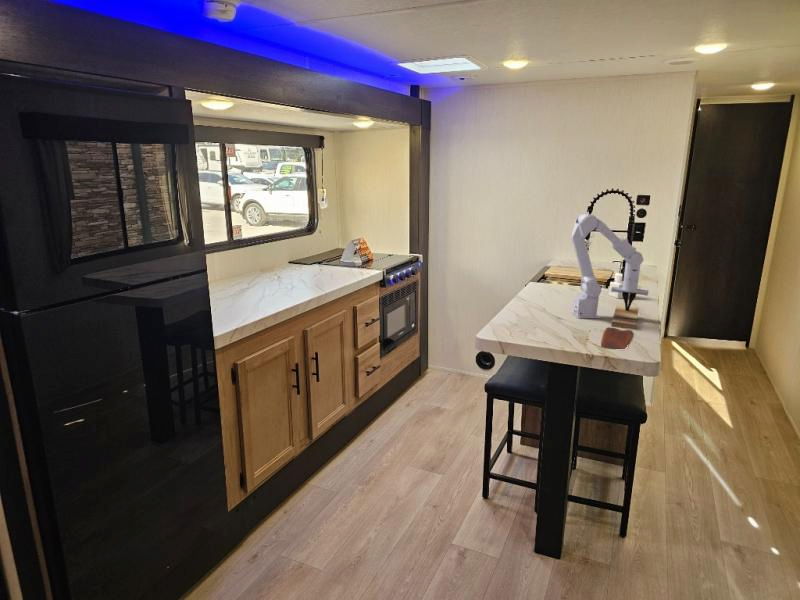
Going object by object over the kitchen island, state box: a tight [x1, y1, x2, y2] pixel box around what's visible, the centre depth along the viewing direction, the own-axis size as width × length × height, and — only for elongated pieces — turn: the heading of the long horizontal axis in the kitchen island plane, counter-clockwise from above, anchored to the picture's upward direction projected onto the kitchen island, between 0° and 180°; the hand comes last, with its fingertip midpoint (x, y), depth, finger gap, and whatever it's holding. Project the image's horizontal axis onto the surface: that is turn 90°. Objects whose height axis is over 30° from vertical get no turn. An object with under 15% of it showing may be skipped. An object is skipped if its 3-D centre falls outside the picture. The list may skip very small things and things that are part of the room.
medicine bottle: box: [608, 272, 630, 299], centre depth 261 cm, size 7×7×12 cm
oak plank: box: [613, 305, 640, 319], centre depth 223 cm, size 11×9×2 cm
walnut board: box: [610, 315, 638, 330], centre depth 214 cm, size 8×9×3 cm
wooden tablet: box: [600, 326, 634, 350], centre depth 196 cm, size 27×10×2 cm, turn 152°
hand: (627, 309), depth 224 cm, fingers closed, pressing on oak plank
